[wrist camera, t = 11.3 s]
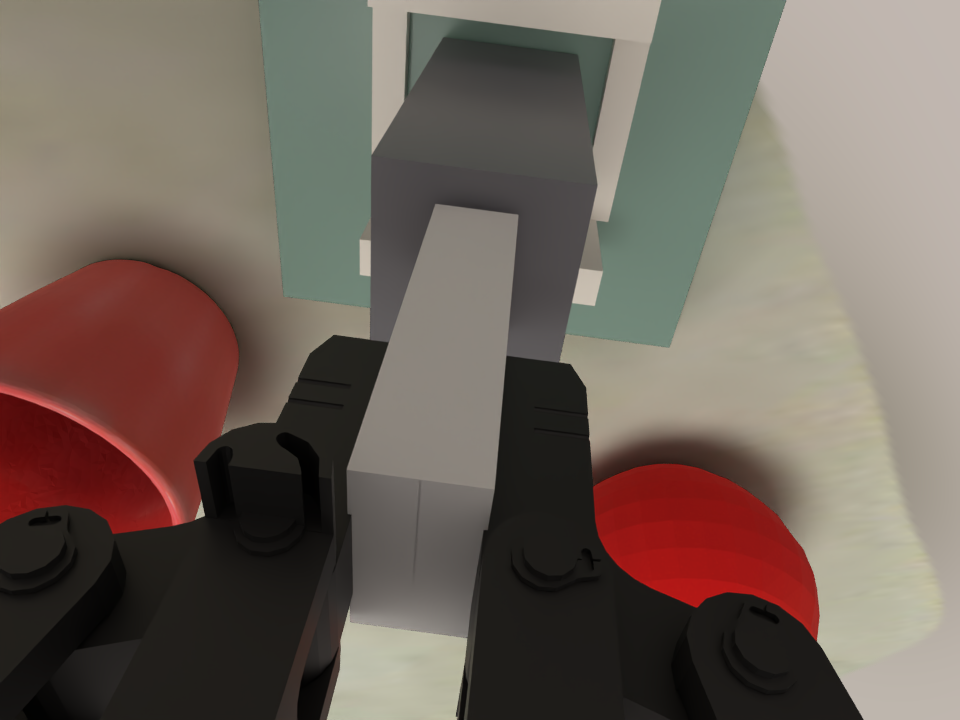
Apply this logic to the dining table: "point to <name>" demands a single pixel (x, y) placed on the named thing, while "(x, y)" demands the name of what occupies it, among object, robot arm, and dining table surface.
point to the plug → (489, 178)
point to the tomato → (702, 539)
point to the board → (611, 117)
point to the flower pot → (112, 394)
